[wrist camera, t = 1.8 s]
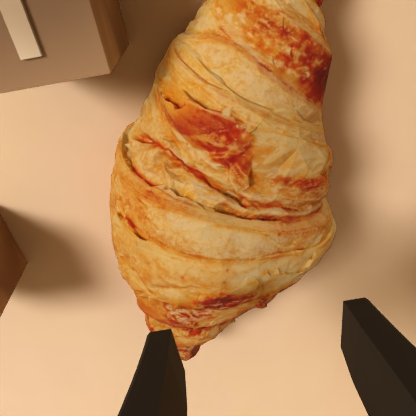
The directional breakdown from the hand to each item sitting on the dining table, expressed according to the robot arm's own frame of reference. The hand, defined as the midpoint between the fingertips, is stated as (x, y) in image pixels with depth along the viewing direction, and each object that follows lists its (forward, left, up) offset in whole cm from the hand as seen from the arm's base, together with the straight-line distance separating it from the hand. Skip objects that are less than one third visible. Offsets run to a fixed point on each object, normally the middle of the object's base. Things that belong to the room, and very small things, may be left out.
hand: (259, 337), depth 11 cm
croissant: (0, 0, -10) cm, 10 cm away
